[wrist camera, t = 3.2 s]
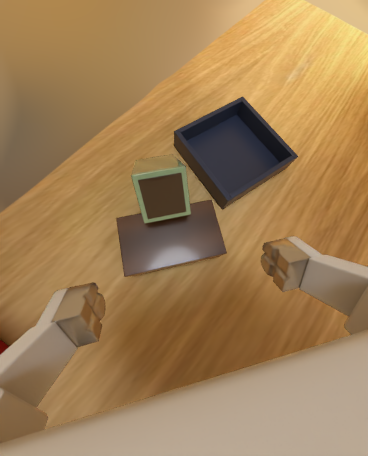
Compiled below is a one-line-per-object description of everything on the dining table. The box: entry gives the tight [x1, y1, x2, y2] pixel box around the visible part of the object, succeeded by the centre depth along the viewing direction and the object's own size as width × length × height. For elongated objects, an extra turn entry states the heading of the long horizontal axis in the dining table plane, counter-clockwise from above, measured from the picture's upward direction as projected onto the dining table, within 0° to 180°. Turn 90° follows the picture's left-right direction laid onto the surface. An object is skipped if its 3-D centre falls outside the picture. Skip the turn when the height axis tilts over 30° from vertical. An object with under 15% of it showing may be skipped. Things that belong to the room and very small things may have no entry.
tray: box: [174, 97, 298, 209], centre depth 27 cm, size 13×13×3 cm
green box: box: [131, 154, 191, 223], centre depth 21 cm, size 10×5×10 cm, turn 13°
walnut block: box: [117, 200, 227, 277], centre depth 23 cm, size 7×12×4 cm, turn 103°
